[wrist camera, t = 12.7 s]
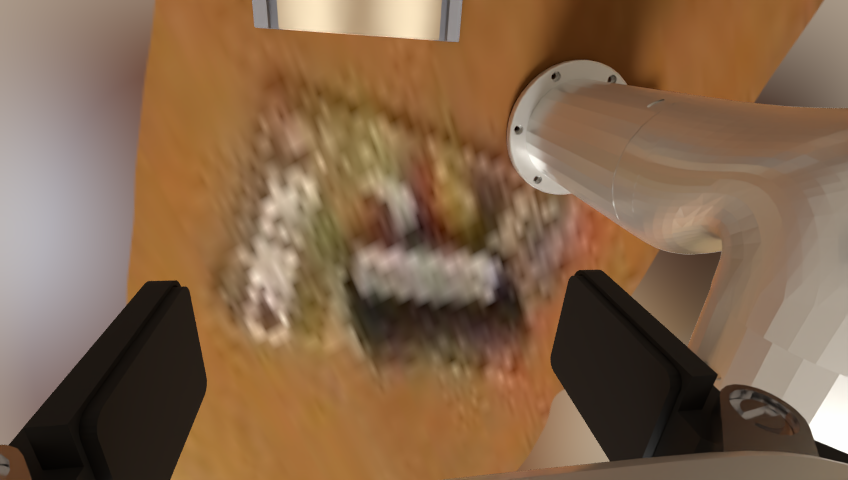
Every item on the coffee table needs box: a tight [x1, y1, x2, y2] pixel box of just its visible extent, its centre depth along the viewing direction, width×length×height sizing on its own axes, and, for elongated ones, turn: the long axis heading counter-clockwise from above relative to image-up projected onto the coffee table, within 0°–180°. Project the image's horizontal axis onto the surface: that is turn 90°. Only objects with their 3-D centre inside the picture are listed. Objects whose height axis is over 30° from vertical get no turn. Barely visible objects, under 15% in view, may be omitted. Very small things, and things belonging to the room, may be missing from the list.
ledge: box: [277, 0, 442, 40], centre depth 32 cm, size 12×4×3 cm, turn 86°
